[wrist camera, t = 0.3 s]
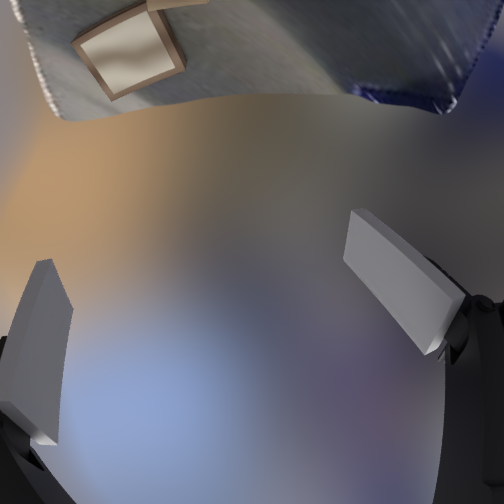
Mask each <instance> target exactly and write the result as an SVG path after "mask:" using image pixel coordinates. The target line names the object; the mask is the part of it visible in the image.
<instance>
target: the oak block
mask: <svg viewBox="0 0 504 504" xmlns="http://www.w3.org/2000/svg"><path fill="white" fill-rule="evenodd" d="M146 1H147V7H148V12H149V11H155V10H160V9H166V8H172V7H179V6H187V5H195V4H205V3H208V0H146Z"/></svg>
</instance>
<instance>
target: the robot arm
mask: <svg viewBox="0 0 504 504" xmlns="http://www.w3.org/2000/svg"><path fill="white" fill-rule="evenodd" d="M343 260H344V261H345V262H346V263H347V264H348V265H349V267H350V268H351V269H352V270H353V271H354V272H355V273H356V274H357V276H358V277H359V278H360V279H361V280H362V281H363V282H364V283H365V285H366V286H367V287H368V288H369V289H370V290H371V291H372V293H374V295H375V296H376V297H377V298H378V299H379V301H380V302H381V303H382V304H383V305H384V306H385V308H386V309H387V310H388V311H389V312H390V314H391V315H392V316H393V317H394V318H395V320H396V321H397V322H398V323H399V324H400V326H401V327H402V328H403V329H404V330H405V332H406V333H407V334H408V335H409V336H410V338H411V339H412V340H413V341H414V342H415V344H416V345H417V346H418V347H419V349H420V350H421V351H422V353H423V354H424V355H426V354H427V353H430V352H431V351H433V350H435V349H437V348H438V346H439V345H440V343H441V341H442V340H443V338H445V339H446V341H447V344H446V346H445V347H444V349H443V351H442V353H441V354H440V356H439V357H438V361H437V362H440V361H441V359H442V358H443V356H445V360H444V361H443V363H445V411H444V412H445V413H444V427H443V438H442V449H441V457H440V464H439V471H438V478H437V483H436V490H435V494H434V499H433V503H432V504H504V300H503V302H502V303H494V302H493V301H492V300H491V299H489V298H488V297H486V296H483V295H475V296H471V295H470V294H469V293H468V292H467V291H466V290H465V289H464V288H463V287H462V286H461V285H459V283H457V282H456V281H455V280H454V279H453V278H452V277H451V276H448V273H447V272H446V271H444V270H442V268H441V267H440V266H439V265H438V264H436V263H435V262H434V261H433V260H431V259H429V258H427V257H425V256H423V255H421V254H420V253H419V252H418V251H417V250H416V249H414V248H413V247H412V246H411V245H409V244H408V243H407V242H406V241H405V240H404V239H402V238H401V237H400V236H399V235H397V234H396V233H395V232H394V231H393V230H392V229H390V228H389V227H388V226H386V225H385V224H384V223H383V222H381V221H380V220H379V219H378V218H376V217H375V216H374V215H373V214H371V213H370V212H369V211H367V210H366V209H365V208H363V209H355V210H351V216H350V223H349V229H348V235H347V241H346V247H345V252H344V257H343ZM72 313H73V308H72V305H71V303H70V301H69V298H68V297H67V294H66V292H65V289H64V287H63V285H62V282H61V280H60V278H59V275H58V273H57V270H56V268H55V265H54V263H53V261H52V259H47V260H42V261H37V262H36V265H35V267H34V269H33V271H32V273H31V276H30V278H29V280H28V283H27V285H26V287H25V290H24V292H23V295H22V297H21V300H20V302H19V305H18V308H17V310H16V313H15V316H14V319H13V322H12V325H11V327H10V330H9V333H8V336H2V337H1V339H0V504H76V503H75V502H74V501H73V499H72V498H71V497H70V496H69V495H68V494H67V492H66V491H65V490H64V489H63V487H62V486H61V485H60V484H59V483H58V481H57V480H56V479H55V477H54V476H53V475H52V474H51V472H50V471H49V470H48V468H47V467H46V466H45V464H44V463H43V461H42V460H41V459H40V457H39V456H38V454H37V453H36V451H35V450H34V449H33V448H32V447H31V446H30V437H31V438H32V439H33V440H35V441H36V442H37V443H38V444H40V445H58V429H59V410H60V397H61V387H62V377H63V369H64V361H65V354H66V348H67V341H68V335H69V329H70V324H71V319H72Z"/></svg>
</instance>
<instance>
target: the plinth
mask: <svg viewBox="0 0 504 504" xmlns="http://www.w3.org/2000/svg"><path fill="white" fill-rule="evenodd" d="M71 45H72V46H73V47H74V49H75V50H76V52H77V53H78V55H79V56H80V58H81V59H82V60H83V62H84V63H85V65H86V66H87V68H88V69H89V70H90V72H91V73H92V75H93V76H94V78H95V79H96V80H97V82H98V83H99V85H100V86H101V87H102V89H103V90H104V92H105V93H106V95H107V96H108V97H109V99H110V100H111V102H112V101H114V100H116V99H118V98H120V97H122V96H124V95H127V94H129V93H131V92H133V91H135V90H138V89H140V88H142V87H145V86H147V85H149V84H152V83H154V82H157V81H159V80H162V79H164V78H167V77H169V76H172V75H175V74H177V73H180V72H183V71H186V63H187V60H186V58H185V56H184V54H183V51H182V49H181V47H180V45H179V43H178V41H177V39H176V37H175V35H174V33H173V31H172V28H171V26H170V24H169V22H168V20H167V18H166V16H165V14H164V12H163V10H162V9H160V10H155V11H149V12H148V7H147V1H146V0H142V1H139V2H137V3H135V4H133V5H131V6H129V7H127V8H125V9H123V10H121V11H119V12H117V13H115V14H113V15H111V16H109V17H107V18H105V19H103V20H102V21H100V22H98V23H96V24H94V25H93V26H91V27H89V28H88V29H86V30H84V31H83V32H81V33H79V34H78V35H77V36H76V37H75V39H74V40H73V41H72V42H71Z"/></svg>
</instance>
